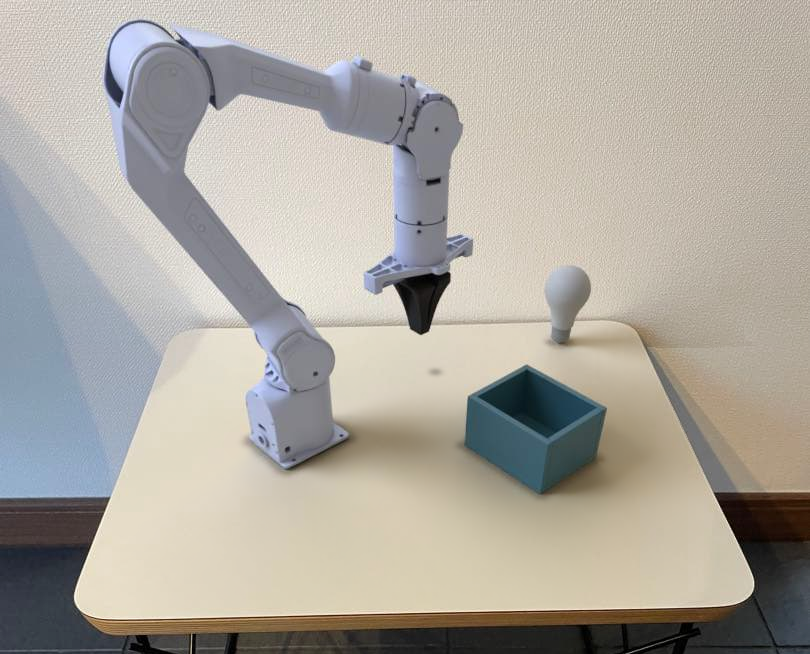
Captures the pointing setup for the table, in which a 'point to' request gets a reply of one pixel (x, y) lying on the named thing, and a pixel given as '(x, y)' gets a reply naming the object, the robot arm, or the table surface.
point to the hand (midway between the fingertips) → (419, 330)
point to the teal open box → (533, 427)
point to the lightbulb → (566, 298)
